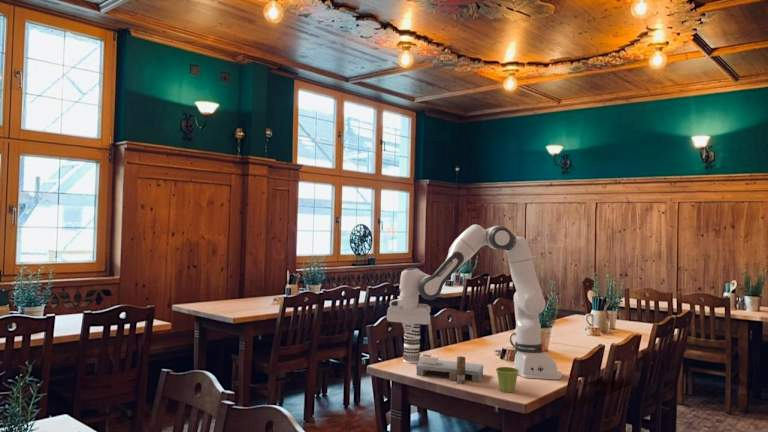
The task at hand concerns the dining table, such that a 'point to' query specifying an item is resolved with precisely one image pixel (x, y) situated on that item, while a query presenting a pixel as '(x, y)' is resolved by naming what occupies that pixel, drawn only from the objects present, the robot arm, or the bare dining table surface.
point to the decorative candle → (412, 344)
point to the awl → (460, 370)
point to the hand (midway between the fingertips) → (407, 332)
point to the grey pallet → (451, 369)
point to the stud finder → (428, 359)
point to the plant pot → (507, 378)
